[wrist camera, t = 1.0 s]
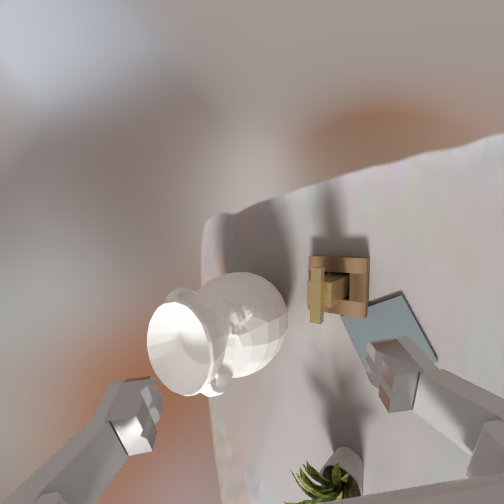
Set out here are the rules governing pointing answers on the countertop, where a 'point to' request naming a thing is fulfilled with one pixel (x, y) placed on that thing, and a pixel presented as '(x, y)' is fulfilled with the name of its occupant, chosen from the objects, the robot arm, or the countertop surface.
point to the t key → (325, 291)
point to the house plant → (334, 478)
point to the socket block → (358, 283)
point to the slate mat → (386, 326)
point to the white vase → (216, 333)
